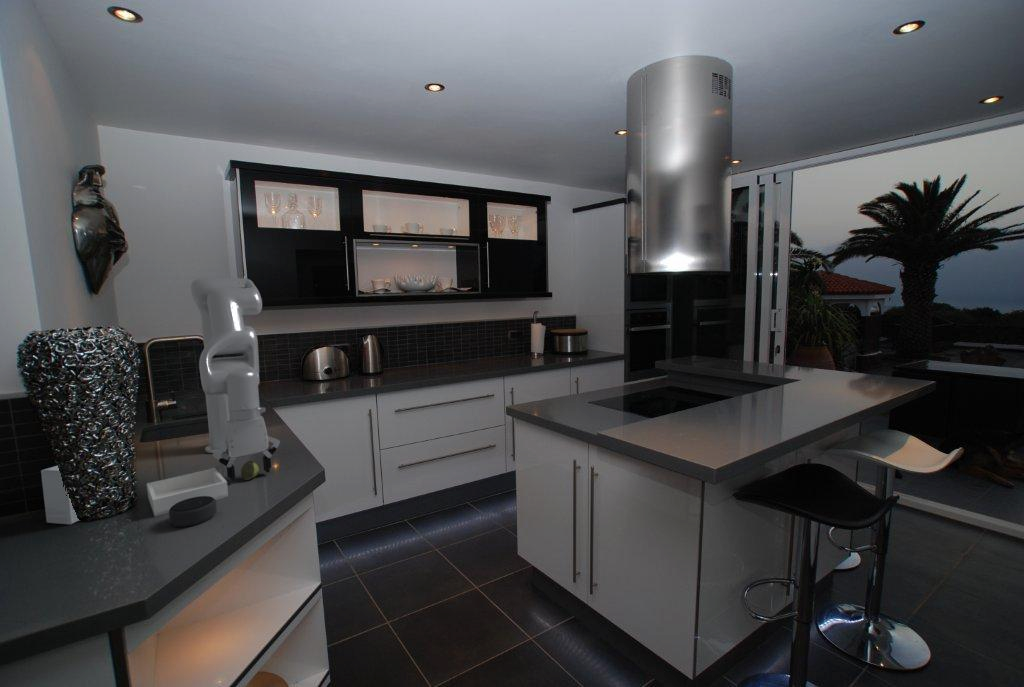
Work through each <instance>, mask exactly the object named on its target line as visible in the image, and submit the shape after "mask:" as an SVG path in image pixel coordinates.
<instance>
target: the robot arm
mask: <svg viewBox="0 0 1024 687" xmlns="http://www.w3.org/2000/svg"><path fill="white" fill-rule="evenodd" d="M190 293H191V296H192V300H193V301H194V303H195V305H196V307H197V309H198V311H199V314H200V317H201V328H202V340H203V341H202V343H203V347H204V348H203V350H202V351H201V354H200V357H199V359H198V360H199V361H198V368H199V373H200V375H199V376H200V382H201V387H202V390H203V392H204V394H205V404H206V413H207V414H206V415H207V421H208V422H207V424H208V435H209V436H208V437H209V444H208V445H207V446H206V447H204V450H205V452H206V453H209V454H212V456H213V457H214V458H215V459H216V461H218V462H219V463H220V464H222V465H224V466H226V474H227V478H229V479H230V480H231V481H232V482H234V481H235V480H236V472H235V471H236V469H235V466H234V463H235V461H236V459H237V458H241V457H245V456H250V455H255V454H259V453H260V454H261V453H262V454H263V456H262V463H263V471H265V472H266V473H270V469H271V468H272V464H271V463H272V461H271V458H272V457H273V455H274V453H275V452H276V451H277V449H278V447H279V445H280V444H281V441H280V440H279V439H277V438H274V437H271V436H269V434H268V430H267V427H266V422H265V419H264V416H263V415H262V414H263V413H265V412H266V411H267V410H266V406H265V407H263V406H260V396H259V394H260V393H259V386H260V362H259V361H260V359H259V357H260V356H259V342H258V336H257V333H256V330H255V329H254V327H252V326H250V325H245V322H244V318H243V316H250V315H252V316H255V315H259V314H260V313H261V312H262V309H263V299H262V297H261V293H260V291H259V289H258V288H257V286H256V285H255V284H254V281H252V280H251V279H249V278H244V277H243V278H241V277H239V278H236V277H226V278H225V277H201V278H197V279H194V280H192V282H191V283H190ZM231 354H233V355H234V354H235V355H236V354H242V355H240V356H227V357H225V356H224V357H215V358H213V357H214V356H219V355H222V356H223V355H231ZM269 443H272V445H271V446H269ZM223 453H226V455H228V456H227V458H224V457H223V456H222V454H223Z"/></svg>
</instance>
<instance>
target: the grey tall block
mask: <svg viewBox="0 0 1024 687" xmlns="http://www.w3.org/2000/svg"><path fill="white" fill-rule="evenodd" d="M40 473H41V475H40V476H41V483H42V491H43V492H42V493H43V500H44V508H45V518H46V520H45V521H46V523H49V524H59V525H72V524H75V523H77V522H79V521H80V520H79V519H78V518H77V515H76V512H75V510H74V508H73V506H72V503H71V499H70V498H69V494H67V493H68V492H67V488H66V491H65V485H64V487H63V481H62V477H61V473H60V471H59V468H58V465H55V466H52V467H48V468H45V469H42V470H40ZM66 495H67V496H66Z"/></svg>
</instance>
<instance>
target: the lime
mask: <svg viewBox="0 0 1024 687" xmlns="http://www.w3.org/2000/svg"><path fill="white" fill-rule="evenodd" d="M259 471H260V468H259V464H258V463H257V462H255V461H253V460H247V461H246V462H244V463H243V465H242V467H241V470H240V476H241V478H242V479H243V480H245V481H249V480H253V479H254V478H255V477H257V476H258V474H259Z"/></svg>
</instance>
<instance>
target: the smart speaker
mask: <svg viewBox="0 0 1024 687" xmlns="http://www.w3.org/2000/svg"><path fill="white" fill-rule="evenodd" d="M217 508H218V507H217V500H215V499H214V498H213V497H210V496H199V497H193V498H189V499H186V500H183V501H180V502H178V503H176V504H175V505H173V506H172V507H171V508H170V510H169V513H168V516H169V523H170V525H172V526H174V527H178V528H185V527H191V526H195V525H196V526H197V525H198V524H202V523H204V522H208V521H209V520H211V518H213V517H214V516H215V515H216V514H217V511H218V510H217Z"/></svg>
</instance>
